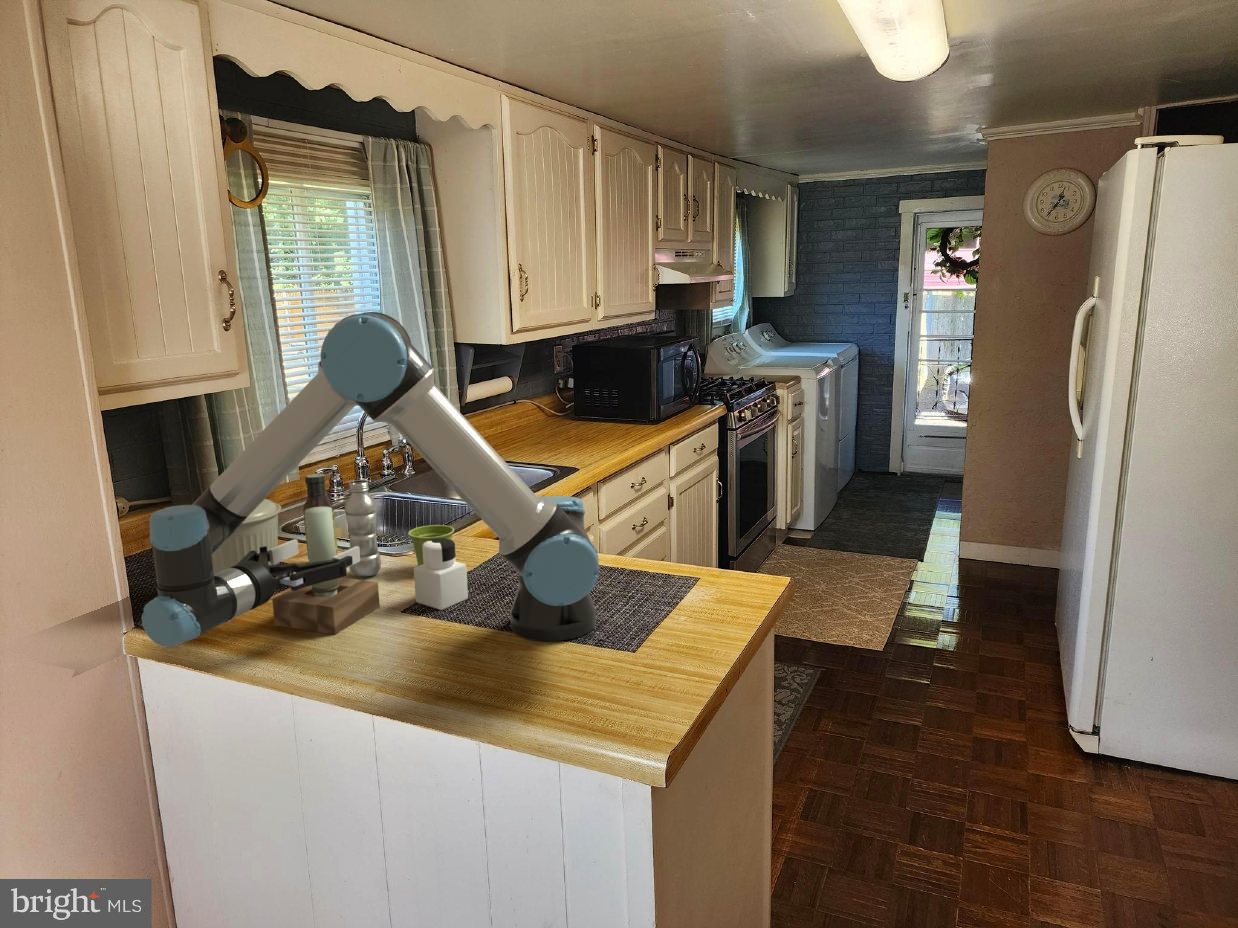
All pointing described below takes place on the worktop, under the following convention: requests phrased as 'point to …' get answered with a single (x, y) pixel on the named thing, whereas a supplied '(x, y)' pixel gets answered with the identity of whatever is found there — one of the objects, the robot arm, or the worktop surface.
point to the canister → (249, 537)
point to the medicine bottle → (440, 575)
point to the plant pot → (428, 537)
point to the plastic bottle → (363, 528)
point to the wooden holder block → (326, 606)
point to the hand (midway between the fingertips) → (327, 549)
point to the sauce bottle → (318, 499)
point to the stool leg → (321, 545)
